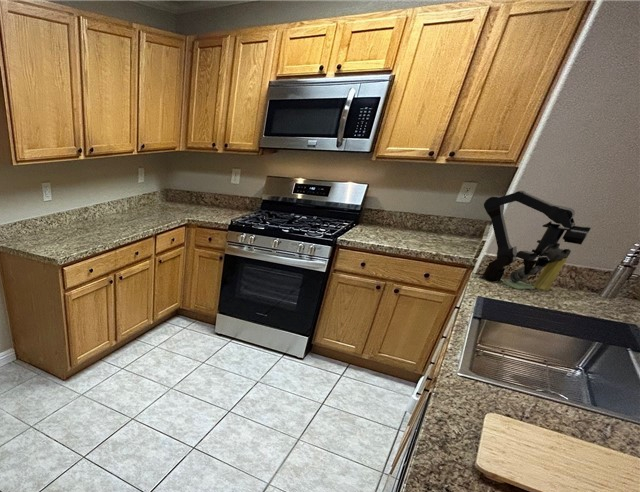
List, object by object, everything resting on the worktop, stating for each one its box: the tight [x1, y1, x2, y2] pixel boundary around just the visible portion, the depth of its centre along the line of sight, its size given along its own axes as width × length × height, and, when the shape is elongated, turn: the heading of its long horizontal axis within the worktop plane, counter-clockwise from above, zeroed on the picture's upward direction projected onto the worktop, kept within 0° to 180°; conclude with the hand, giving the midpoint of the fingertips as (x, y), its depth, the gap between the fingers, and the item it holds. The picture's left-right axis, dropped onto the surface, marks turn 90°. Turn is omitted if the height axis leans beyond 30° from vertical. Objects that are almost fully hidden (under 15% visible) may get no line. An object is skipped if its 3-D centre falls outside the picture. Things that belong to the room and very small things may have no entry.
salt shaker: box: [509, 265, 543, 283], centre depth 188 cm, size 6×6×12 cm
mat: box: [501, 280, 536, 290], centre depth 192 cm, size 8×9×1 cm
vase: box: [532, 257, 568, 291], centre depth 187 cm, size 6×6×14 cm
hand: (529, 274), depth 187 cm, fingers open, 4 cm apart
